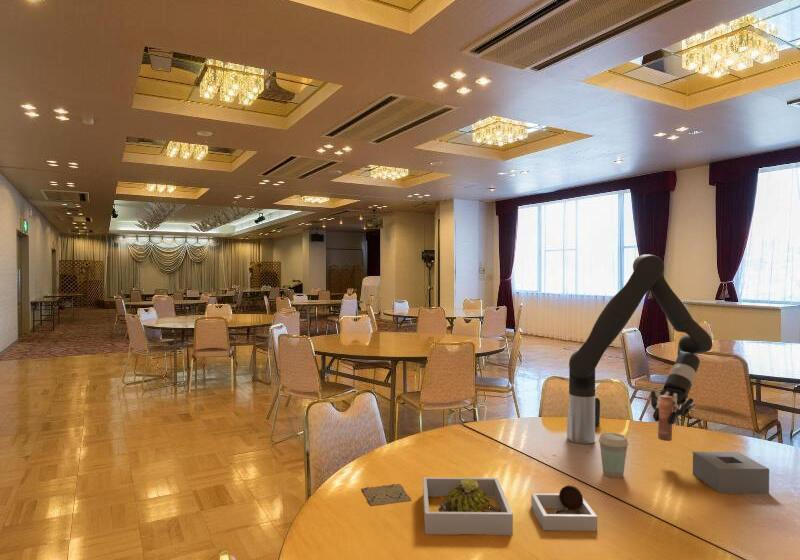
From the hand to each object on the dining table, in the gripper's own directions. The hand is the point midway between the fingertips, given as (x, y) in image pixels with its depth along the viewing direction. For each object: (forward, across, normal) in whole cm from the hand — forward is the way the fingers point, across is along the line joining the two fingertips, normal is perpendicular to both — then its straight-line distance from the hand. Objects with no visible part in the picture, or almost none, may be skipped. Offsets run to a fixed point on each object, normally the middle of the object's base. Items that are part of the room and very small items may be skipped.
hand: (662, 421), depth 171 cm
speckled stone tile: (+71, -38, -48) cm, 94 cm away
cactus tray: (+64, -16, -43) cm, 79 cm away
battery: (-5, -39, +26) cm, 47 cm away
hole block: (+10, +20, +10) cm, 24 cm away
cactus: (+64, -15, -42) cm, 78 cm away
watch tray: (+51, +1, -30) cm, 59 cm away
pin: (+3, 0, +6) cm, 6 cm away
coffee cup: (+25, -6, -4) cm, 26 cm away
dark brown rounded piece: (+50, +2, -29) cm, 58 cm away
